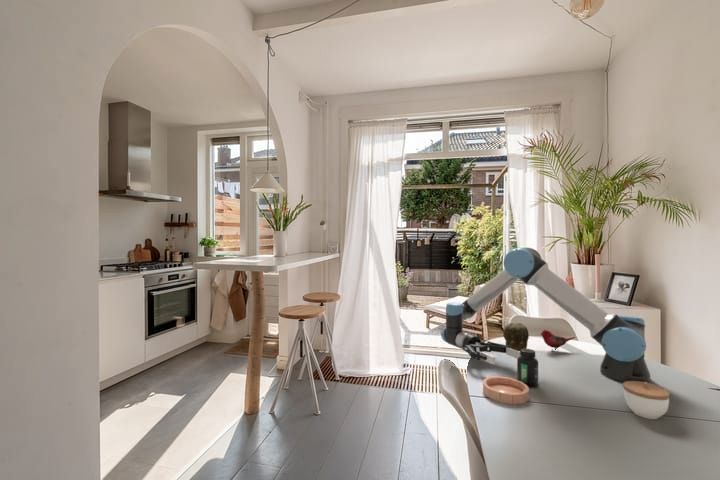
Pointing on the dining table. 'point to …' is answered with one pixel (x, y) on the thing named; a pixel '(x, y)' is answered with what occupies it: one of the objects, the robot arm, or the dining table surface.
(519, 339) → the brown rounded lump
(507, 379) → the terracotta dish
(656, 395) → the lidded jar
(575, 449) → the dining table surface
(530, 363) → the supplement bottle
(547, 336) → the decorative bird figurine
